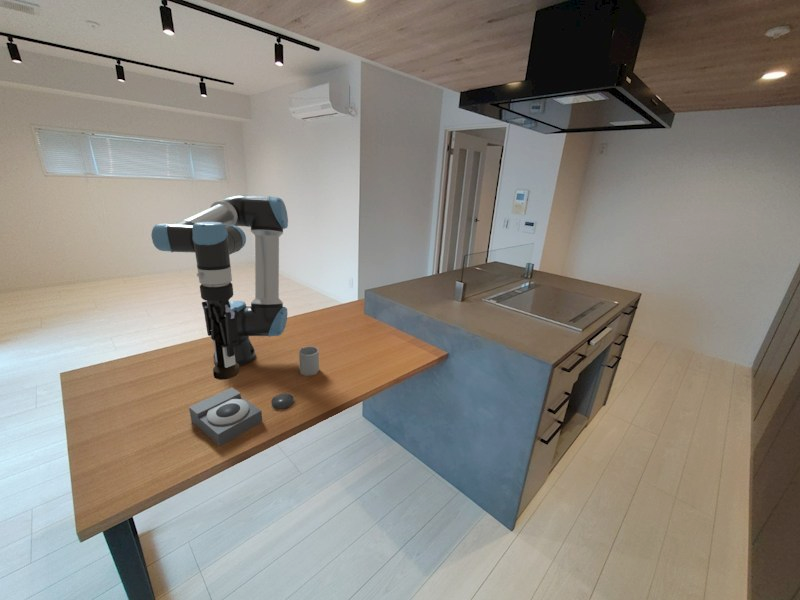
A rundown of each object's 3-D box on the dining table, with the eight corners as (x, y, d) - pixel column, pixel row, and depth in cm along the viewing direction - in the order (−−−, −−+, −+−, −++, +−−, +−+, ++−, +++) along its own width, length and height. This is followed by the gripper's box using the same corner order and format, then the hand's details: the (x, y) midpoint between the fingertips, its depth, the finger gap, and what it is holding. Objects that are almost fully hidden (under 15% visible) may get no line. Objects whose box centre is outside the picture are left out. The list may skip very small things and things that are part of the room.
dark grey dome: (267, 403, 109) (266, 400, 109) (285, 393, 115) (284, 390, 115) (280, 412, 106) (280, 409, 105) (298, 401, 111) (298, 398, 111)
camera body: (191, 421, 100) (188, 406, 98) (233, 400, 110) (231, 387, 108) (219, 446, 91) (217, 430, 89) (262, 421, 101) (261, 407, 100)
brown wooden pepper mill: (233, 365, 100) (227, 309, 94) (244, 373, 96) (238, 315, 90) (209, 373, 95) (201, 315, 89) (220, 382, 91) (212, 322, 85)
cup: (304, 378, 125) (303, 357, 122) (293, 366, 132) (292, 346, 129) (322, 372, 129) (321, 352, 126) (310, 361, 136) (310, 342, 133)
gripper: (184, 279, 88) (196, 358, 96) (219, 293, 79) (229, 378, 87) (213, 274, 94) (222, 349, 102) (248, 286, 85) (255, 367, 93)
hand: (225, 362), depth 94 cm, fingers closed on brown wooden pepper mill, 4 cm apart
